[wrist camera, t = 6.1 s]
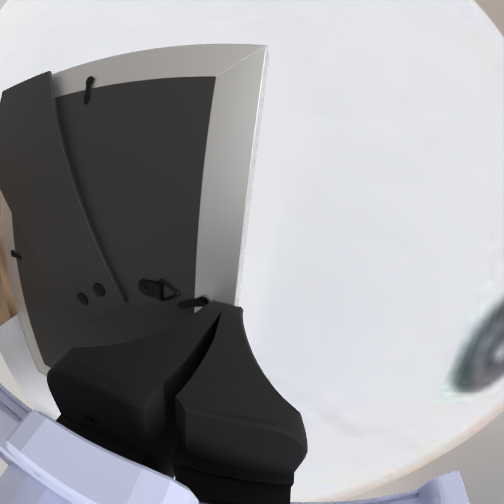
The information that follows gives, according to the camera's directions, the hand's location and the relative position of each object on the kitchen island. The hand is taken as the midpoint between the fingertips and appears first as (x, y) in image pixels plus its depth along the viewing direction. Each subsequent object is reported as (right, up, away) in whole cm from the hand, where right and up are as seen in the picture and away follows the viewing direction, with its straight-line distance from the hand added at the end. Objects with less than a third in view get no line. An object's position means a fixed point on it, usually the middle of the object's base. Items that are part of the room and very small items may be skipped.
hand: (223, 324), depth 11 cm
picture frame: (-7, +3, +3) cm, 8 cm away
